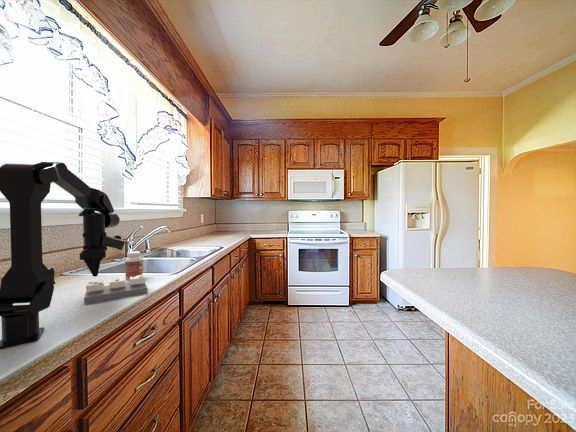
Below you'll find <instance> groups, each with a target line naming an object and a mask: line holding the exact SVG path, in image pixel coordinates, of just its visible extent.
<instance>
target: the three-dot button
mask: <svg viewBox="0 0 576 432" xmlns="http://www.w3.org/2000/svg"><path fill="white" fill-rule="evenodd" d="M104 286H105V280H98V281H91V282H87V283H86V286H85V289H86V291H85V293H86V292H92V291H98V290H104Z"/></svg>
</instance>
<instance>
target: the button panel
mask: <svg viewBox="0 0 576 432" xmlns="http://www.w3.org/2000/svg"><path fill="white" fill-rule="evenodd" d="M144 293H146V294H148V287H147V284H146V282H145V283H141V284H135V285H131V284H130V281H129V282H125V286H124V287H118V288H111V289H109V284H108V285H104V290H98V291H92V292H86V291H85V295H84V297H83V298H84V299H83V300H84V301H83V304H84V305H87V304H93V303H97V302H98V303H99V302H105V301H110V300H115V299H121V298H127V297H133V296H138V295H145V294H144Z"/></svg>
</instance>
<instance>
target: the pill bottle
mask: <svg viewBox="0 0 576 432" xmlns="http://www.w3.org/2000/svg"><path fill="white" fill-rule="evenodd" d="M126 254H127V258H126V259H125V261H124V265H125V270H124V271H125V280H129V281H130V277H131V276H138V275H144V274H143V258H142V257H141V252H140V251H139V250H137V251H129V252H127V253H126Z"/></svg>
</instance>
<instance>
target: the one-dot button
mask: <svg viewBox="0 0 576 432" xmlns="http://www.w3.org/2000/svg"><path fill="white" fill-rule="evenodd" d="M125 283H126V277H121V278H113V279H109V283H108V285H109V289H111V288H118V287H124V286H125Z"/></svg>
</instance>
